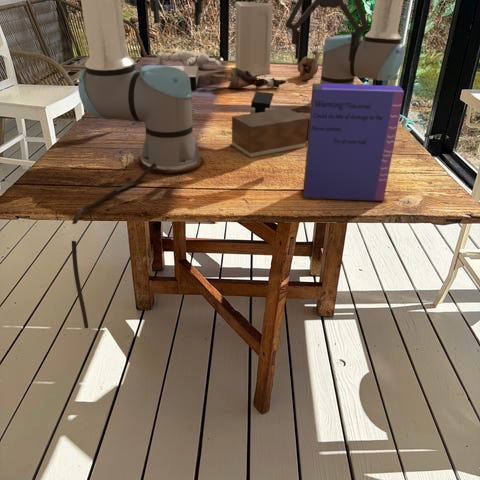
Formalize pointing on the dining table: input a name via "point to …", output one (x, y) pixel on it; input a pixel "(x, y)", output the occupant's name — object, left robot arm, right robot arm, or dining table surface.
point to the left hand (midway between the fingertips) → (177, 24)
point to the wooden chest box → (269, 132)
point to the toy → (186, 58)
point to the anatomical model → (308, 66)
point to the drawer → (308, 124)
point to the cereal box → (351, 141)
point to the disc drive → (190, 74)
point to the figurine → (246, 79)
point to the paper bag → (253, 37)
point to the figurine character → (261, 102)
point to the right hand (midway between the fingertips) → (323, 59)
